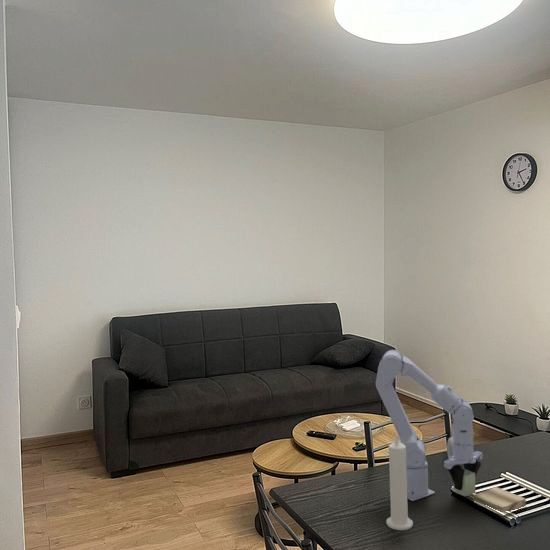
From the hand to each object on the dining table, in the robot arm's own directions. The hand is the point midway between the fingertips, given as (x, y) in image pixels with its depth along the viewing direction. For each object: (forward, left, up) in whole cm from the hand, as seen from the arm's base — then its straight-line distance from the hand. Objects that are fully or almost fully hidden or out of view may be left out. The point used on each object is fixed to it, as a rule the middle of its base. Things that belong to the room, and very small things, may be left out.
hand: (464, 487), depth 172 cm
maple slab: (+3, -10, -3) cm, 11 cm away
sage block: (0, 0, -2) cm, 2 cm away
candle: (-28, -2, -3) cm, 28 cm away
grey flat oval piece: (+16, +18, -3) cm, 24 cm away
